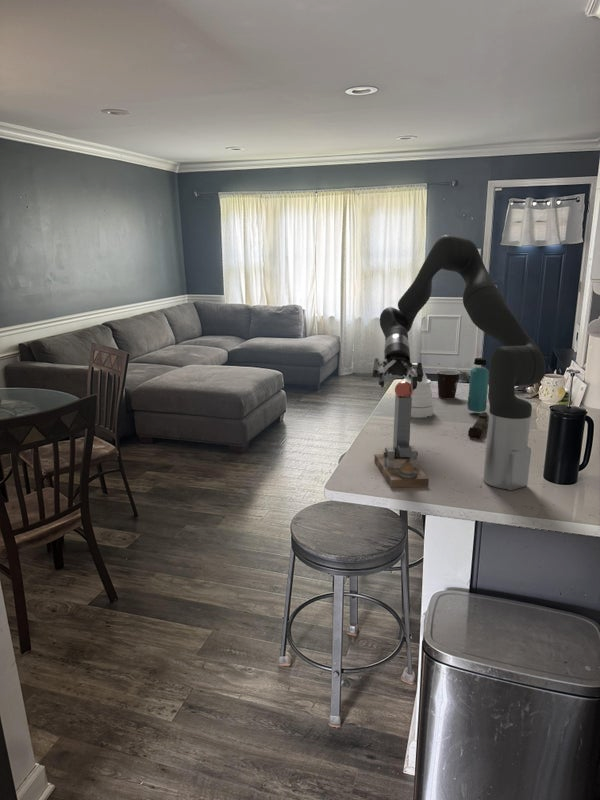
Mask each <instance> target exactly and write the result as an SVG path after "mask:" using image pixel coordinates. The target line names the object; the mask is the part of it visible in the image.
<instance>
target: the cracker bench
mask: <svg viewBox="0 0 600 800" xmlns="http://www.w3.org/2000/svg"><path fill="white" fill-rule="evenodd" d="M410 446H411V447H412V450H411V457H408V459H395V451H394V449H393V446H384V452H383V453H375V454H374V459H373V460H374V463H375V464H376V466H377V469H379V471H380V473H381V474H382V475H383V477H384V479H385V480H386V482H387V483H388V485H389V487H390V488H392V489H393V488H395V489H396V488H422V487H425V488H426V487H429V479H430V478H429V477H428V476H427V474H426V473H425V472H424V471H423V470H422V468H421V467H420V466H419V465H418V464H417V460H418V459H417V457H418V456H419V452H418V450H417V449H416V448H415V447H414V446H413V445H410Z"/></svg>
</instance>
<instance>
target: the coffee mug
mask: <svg viewBox="0 0 600 800" xmlns="http://www.w3.org/2000/svg"><path fill="white" fill-rule="evenodd" d="M436 376H437V389H438V390H437V392H438V393H437V394H438V396H439V397H438V398H440V397H441V399H444V398H453V399H455V398H456V393H457V387H458V384H459V377H460V372H459V371H455V370H450V369H449V370H445V369H444V370H437V374H436ZM454 397H455V398H454Z"/></svg>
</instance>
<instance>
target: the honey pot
mask: <svg viewBox="0 0 600 800" xmlns="http://www.w3.org/2000/svg"><path fill="white" fill-rule="evenodd" d="M411 363H412V362H411ZM418 363H419V362H418ZM418 363H414V362H413V363H412V364H414V365H417V364H418ZM413 372H415V371H414V369H413ZM416 374H417V373H416ZM423 374H424V375H423V378H422V382H418V381H417V388H416V389H414V391H413V393H412V395H411V397H412V405H411V418H428V417H427V416H429V417H431V416H433V415H434V402H435V400H434V397H433V392H432V389H431V387H430V385H431V383H432V381H431V379H428V376H427V375H426V373H425V372H424V370H423ZM402 381H406V382H409V383H410V384H411V381H410V380H409V379H406V378H405V377H404V378H403V379H402V380H401V382H402Z"/></svg>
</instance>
